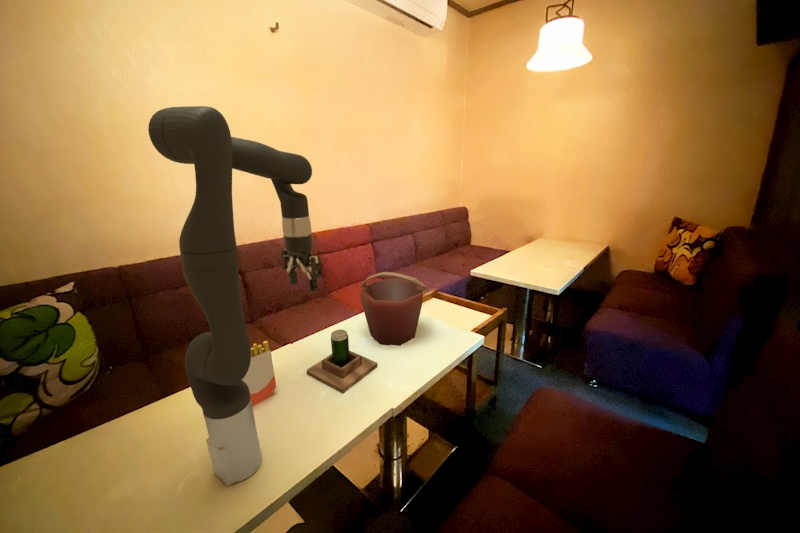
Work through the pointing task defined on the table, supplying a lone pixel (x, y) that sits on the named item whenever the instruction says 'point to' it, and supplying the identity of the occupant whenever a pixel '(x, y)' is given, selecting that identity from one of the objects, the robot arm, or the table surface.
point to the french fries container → (260, 374)
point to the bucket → (392, 307)
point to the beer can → (340, 348)
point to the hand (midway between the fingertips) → (303, 287)
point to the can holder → (342, 371)
